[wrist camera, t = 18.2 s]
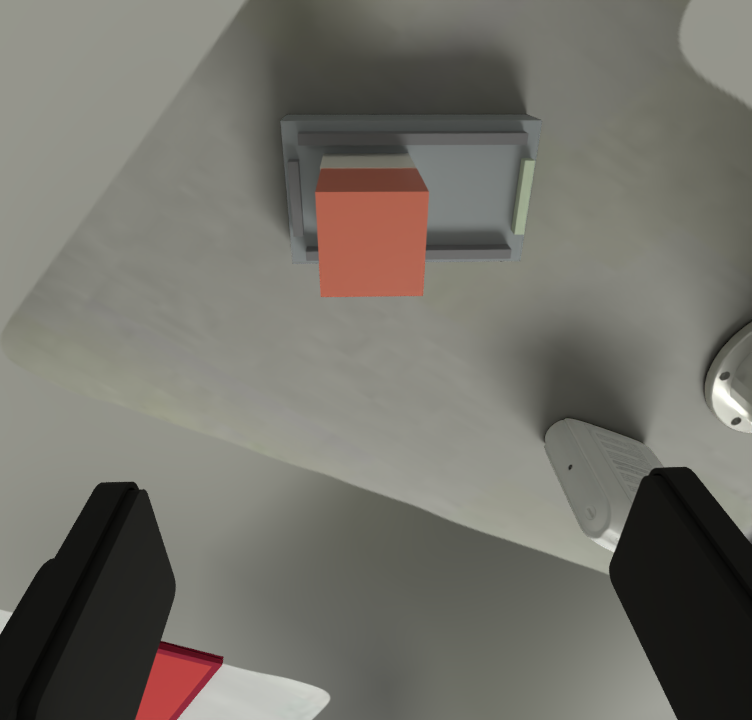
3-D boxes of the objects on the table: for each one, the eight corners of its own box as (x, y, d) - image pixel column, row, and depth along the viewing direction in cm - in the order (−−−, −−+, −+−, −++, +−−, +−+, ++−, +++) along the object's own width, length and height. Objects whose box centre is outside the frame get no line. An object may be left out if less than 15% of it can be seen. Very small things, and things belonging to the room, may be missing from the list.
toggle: (408, 153, 30) (415, 167, 27) (405, 236, 33) (412, 258, 30) (323, 153, 30) (319, 167, 27) (327, 237, 33) (324, 259, 29)
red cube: (416, 168, 27) (429, 191, 23) (412, 259, 30) (423, 295, 25) (320, 168, 27) (315, 191, 22) (325, 260, 29) (320, 297, 25)
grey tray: (527, 114, 32) (547, 122, 29) (508, 245, 37) (524, 266, 33) (286, 114, 32) (278, 123, 28) (296, 248, 36) (291, 269, 33)
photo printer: (533, 445, 47) (586, 562, 36) (559, 409, 45) (624, 522, 34) (625, 474, 49) (699, 592, 39) (654, 442, 47) (741, 556, 37)
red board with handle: (32, 736, 71) (140, 755, 76) (21, 760, 69) (134, 778, 73) (100, 621, 59) (224, 652, 64) (90, 645, 56) (220, 676, 61)
